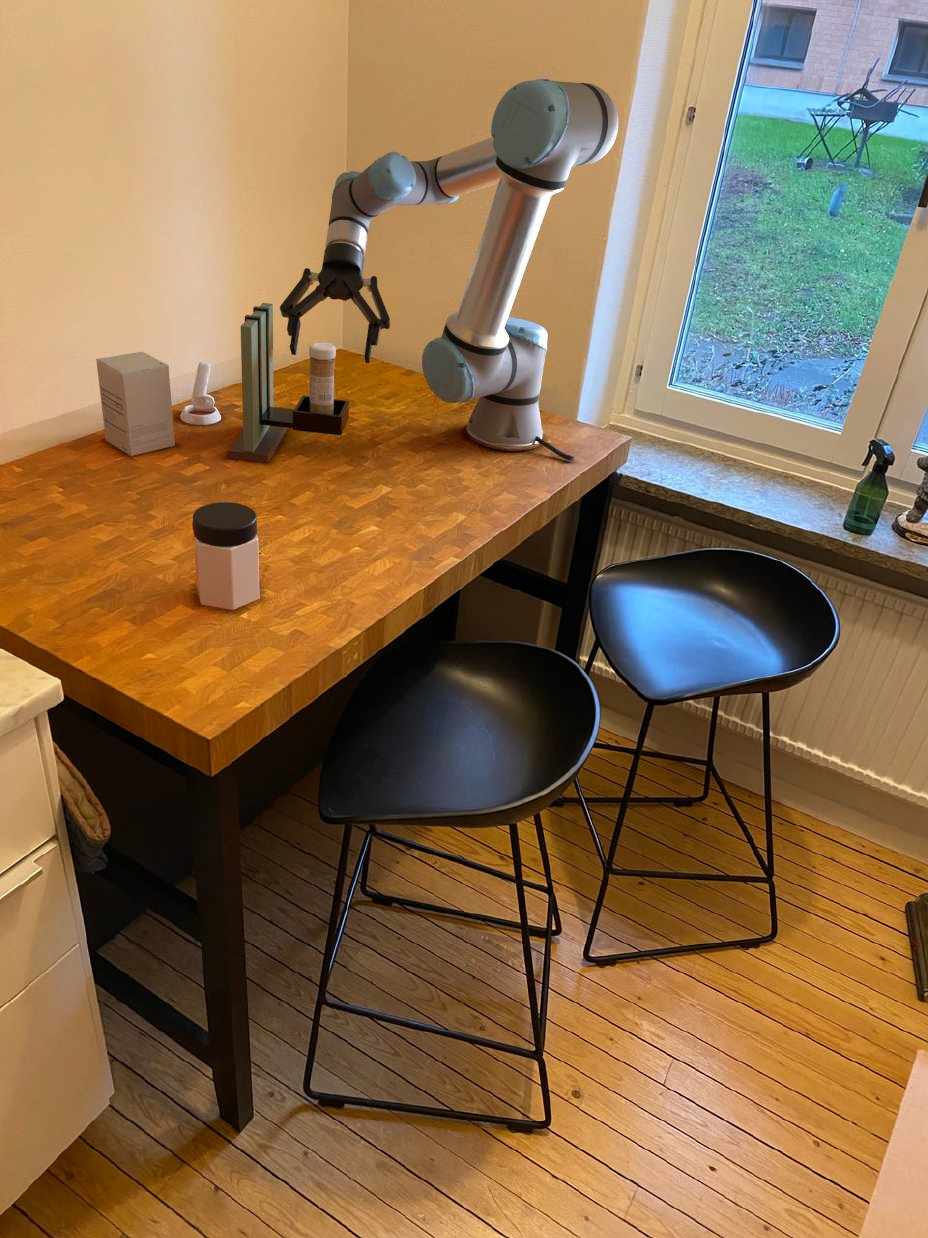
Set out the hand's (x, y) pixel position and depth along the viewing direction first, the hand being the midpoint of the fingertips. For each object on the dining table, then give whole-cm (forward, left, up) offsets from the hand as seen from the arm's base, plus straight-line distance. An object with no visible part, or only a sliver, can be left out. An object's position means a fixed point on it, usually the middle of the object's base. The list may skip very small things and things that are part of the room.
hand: (329, 355), depth 171 cm
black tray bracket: (-1, +8, -11) cm, 13 cm away
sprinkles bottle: (-4, +5, -10) cm, 12 cm away
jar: (-36, +48, -16) cm, 63 cm away
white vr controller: (+21, +14, -16) cm, 30 cm away
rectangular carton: (+16, +30, -16) cm, 38 cm away
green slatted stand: (+4, +13, -16) cm, 21 cm away
